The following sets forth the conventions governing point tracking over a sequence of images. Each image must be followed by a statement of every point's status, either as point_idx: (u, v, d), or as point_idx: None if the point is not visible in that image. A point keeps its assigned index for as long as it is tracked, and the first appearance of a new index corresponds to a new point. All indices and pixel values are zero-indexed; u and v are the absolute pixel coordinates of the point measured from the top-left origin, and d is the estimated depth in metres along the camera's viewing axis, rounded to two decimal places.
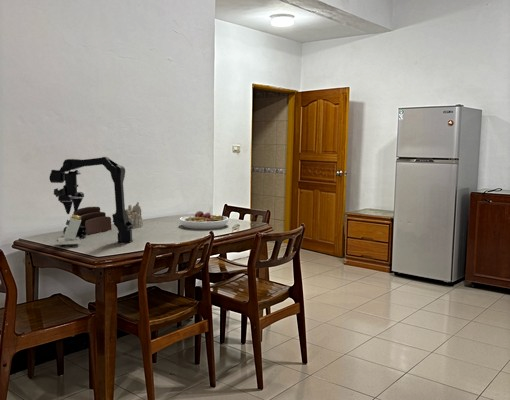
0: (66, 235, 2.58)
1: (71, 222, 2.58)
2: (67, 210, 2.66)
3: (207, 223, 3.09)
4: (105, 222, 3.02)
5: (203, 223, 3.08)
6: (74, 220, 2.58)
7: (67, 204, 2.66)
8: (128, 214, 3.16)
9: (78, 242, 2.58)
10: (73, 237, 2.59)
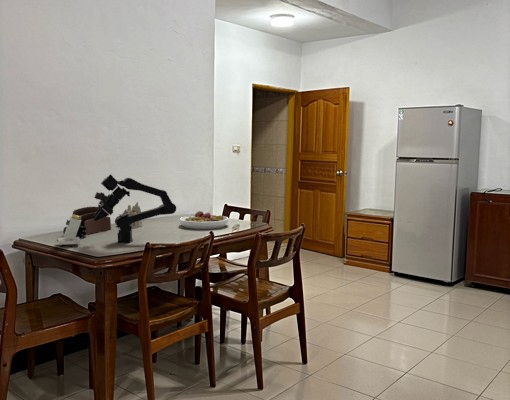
0: (66, 235, 2.58)
1: (71, 222, 2.58)
2: (97, 217, 2.61)
3: (207, 223, 3.09)
4: (104, 222, 3.02)
5: (203, 223, 3.08)
6: (74, 220, 2.58)
7: (102, 213, 2.61)
8: None
9: (78, 242, 2.58)
10: (73, 237, 2.59)
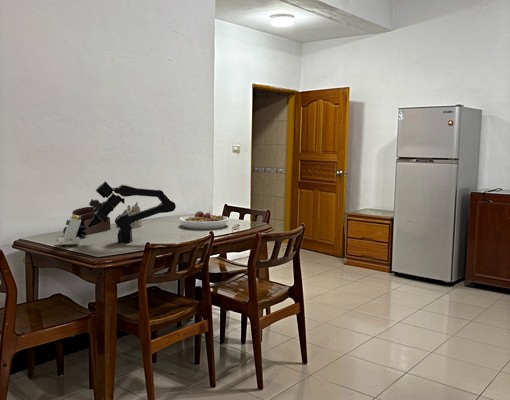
0: (66, 235, 2.58)
1: (71, 222, 2.58)
2: (91, 224, 2.63)
3: (207, 223, 3.09)
4: (104, 222, 3.02)
5: (203, 223, 3.08)
6: (74, 220, 2.58)
7: (96, 219, 2.64)
8: None
9: (78, 242, 2.58)
10: (73, 237, 2.59)
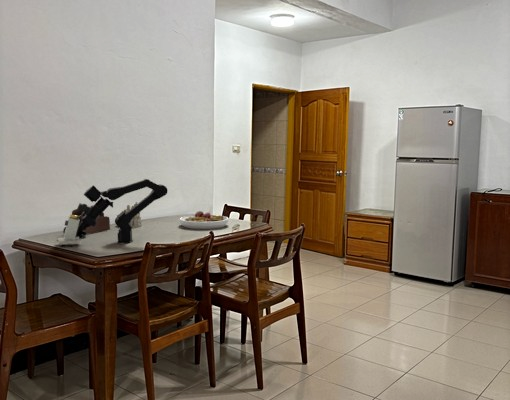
0: (66, 236, 2.58)
1: (70, 222, 2.58)
2: (80, 228, 2.62)
3: (207, 223, 3.09)
4: (103, 222, 3.03)
5: (203, 223, 3.08)
6: (72, 220, 2.58)
7: (84, 224, 2.62)
8: None
9: (78, 242, 2.58)
10: (73, 237, 2.59)
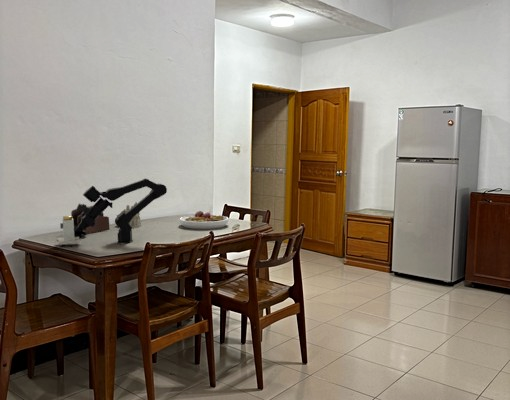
0: (65, 238, 2.58)
1: (64, 224, 2.57)
2: (79, 228, 2.62)
3: (207, 223, 3.09)
4: (103, 222, 3.03)
5: (203, 223, 3.08)
6: (66, 221, 2.57)
7: (84, 224, 2.62)
8: None
9: (78, 242, 2.58)
10: (72, 238, 2.59)
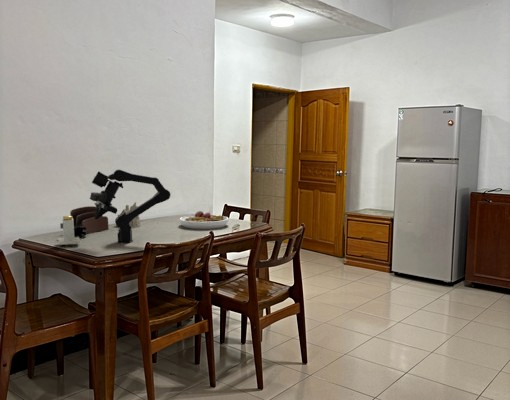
0: (65, 238, 2.58)
1: (64, 224, 2.57)
2: (98, 216, 2.65)
3: (207, 223, 3.09)
4: (102, 222, 3.03)
5: (203, 223, 3.08)
6: (66, 221, 2.57)
7: (102, 211, 2.65)
8: None
9: (78, 242, 2.58)
10: (72, 238, 2.59)
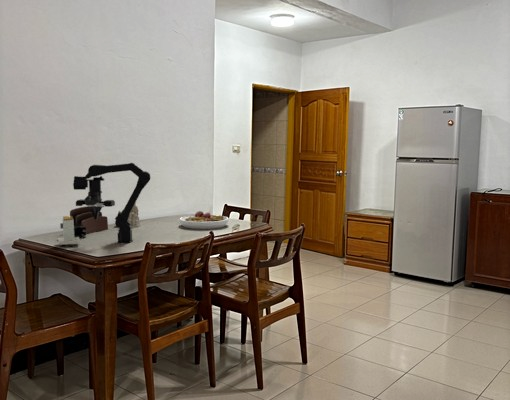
0: (65, 238, 2.58)
1: (64, 224, 2.57)
2: (97, 215, 2.67)
3: (207, 223, 3.09)
4: (101, 222, 3.03)
5: (203, 223, 3.08)
6: (66, 221, 2.57)
7: None
8: None
9: (78, 242, 2.58)
10: (72, 238, 2.59)
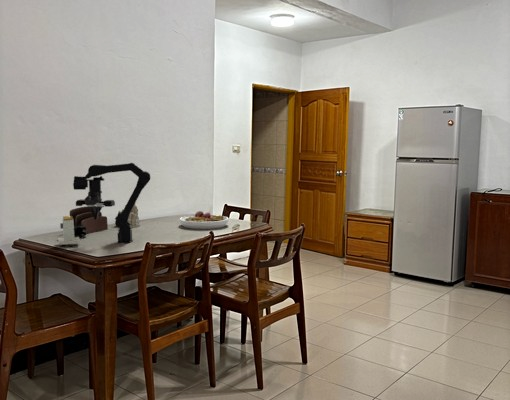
0: (65, 238, 2.58)
1: (64, 224, 2.57)
2: (97, 215, 2.67)
3: (207, 223, 3.09)
4: (101, 222, 3.03)
5: (203, 223, 3.08)
6: (66, 221, 2.57)
7: None
8: None
9: (78, 242, 2.58)
10: (72, 238, 2.59)
